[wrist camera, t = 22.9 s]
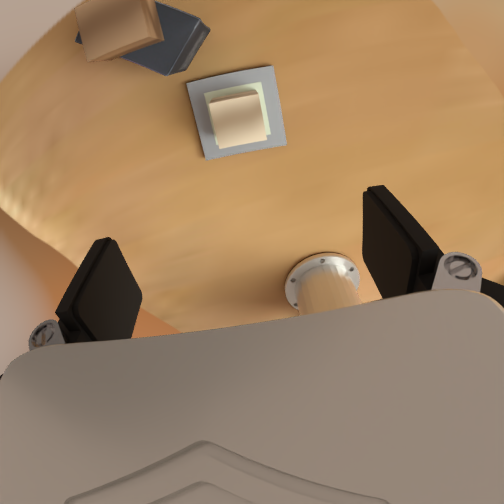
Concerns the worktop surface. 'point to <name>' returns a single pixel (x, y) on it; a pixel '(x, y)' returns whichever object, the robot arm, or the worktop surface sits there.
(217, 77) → the grey square plate
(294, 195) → the worktop surface
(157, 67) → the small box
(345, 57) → the worktop surface
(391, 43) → the worktop surface
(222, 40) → the worktop surface
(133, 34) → the walnut cube
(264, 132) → the oak cube
